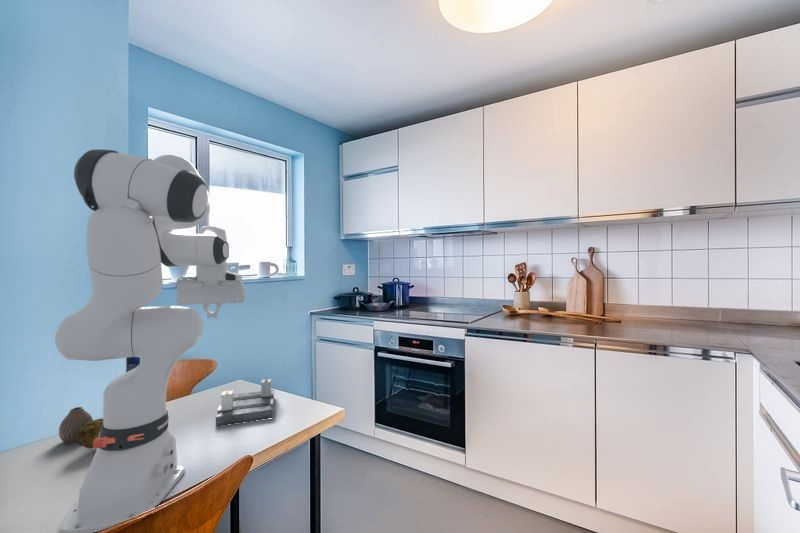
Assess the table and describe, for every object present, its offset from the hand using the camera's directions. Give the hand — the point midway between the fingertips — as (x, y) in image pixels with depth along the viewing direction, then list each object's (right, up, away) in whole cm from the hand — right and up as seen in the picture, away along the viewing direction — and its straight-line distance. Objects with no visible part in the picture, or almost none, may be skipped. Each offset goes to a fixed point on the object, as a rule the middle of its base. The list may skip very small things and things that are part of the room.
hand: (212, 317), depth 112 cm
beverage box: (-21, -31, -4) cm, 38 cm away
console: (+11, -31, 0) cm, 33 cm away
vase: (-28, -31, -18) cm, 46 cm away
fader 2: (+15, -28, +6) cm, 33 cm away
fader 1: (+8, -28, -5) cm, 29 cm away
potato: (-16, -32, -21) cm, 41 cm away
